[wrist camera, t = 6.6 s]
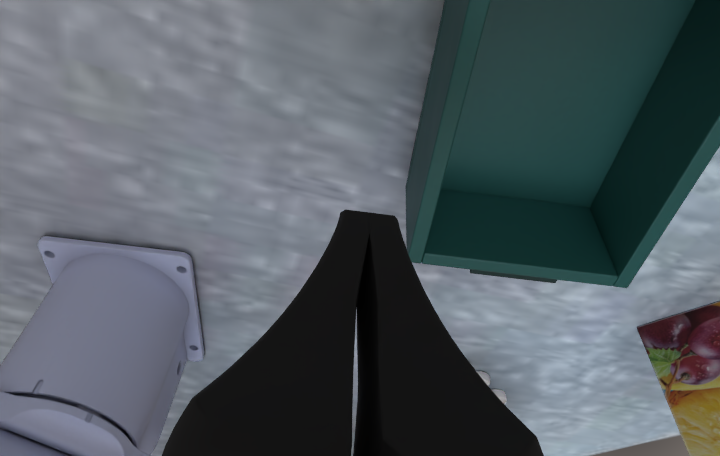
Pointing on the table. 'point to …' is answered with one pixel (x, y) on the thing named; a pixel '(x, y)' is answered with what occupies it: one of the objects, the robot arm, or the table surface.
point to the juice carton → (689, 373)
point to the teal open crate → (561, 134)
